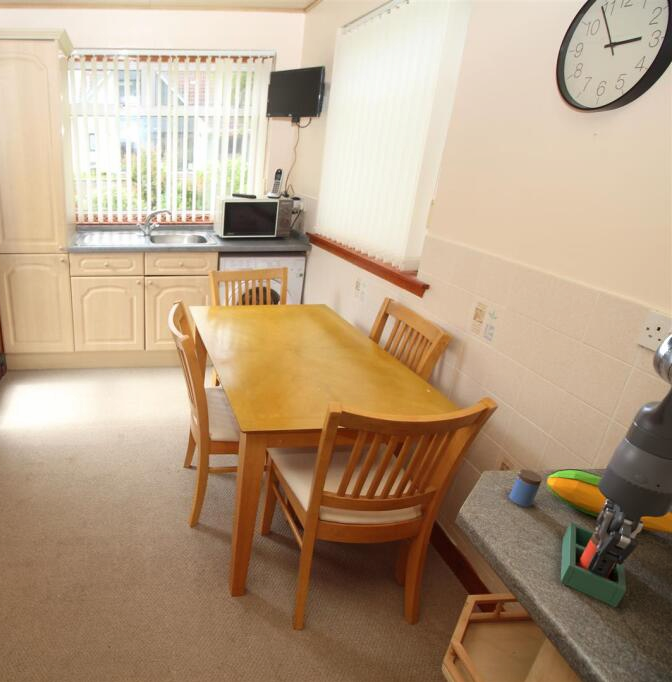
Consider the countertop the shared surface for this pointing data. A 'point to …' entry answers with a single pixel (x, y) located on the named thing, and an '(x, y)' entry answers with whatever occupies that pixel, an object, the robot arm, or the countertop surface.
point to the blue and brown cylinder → (525, 488)
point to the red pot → (590, 552)
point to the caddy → (584, 579)
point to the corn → (593, 496)
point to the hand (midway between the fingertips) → (596, 563)
